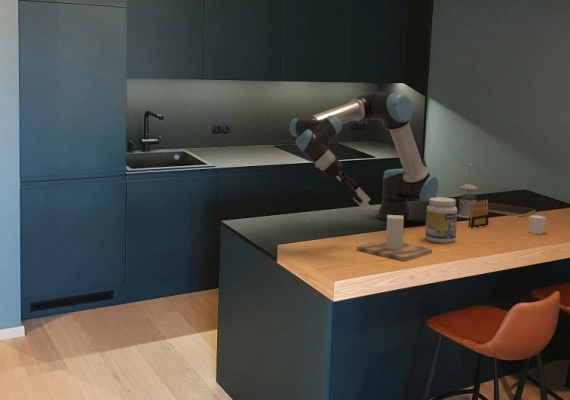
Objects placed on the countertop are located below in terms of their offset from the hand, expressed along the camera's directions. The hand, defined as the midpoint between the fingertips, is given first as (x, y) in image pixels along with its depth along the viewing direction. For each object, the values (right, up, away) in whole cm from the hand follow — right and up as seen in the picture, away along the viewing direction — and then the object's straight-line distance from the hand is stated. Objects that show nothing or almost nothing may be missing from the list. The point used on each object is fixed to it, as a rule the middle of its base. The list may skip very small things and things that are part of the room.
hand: (367, 205), depth 270 cm
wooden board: (+10, -18, +2) cm, 21 cm away
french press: (+56, -6, +70) cm, 89 cm away
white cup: (+76, -12, +36) cm, 85 cm away
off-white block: (+10, -16, +2) cm, 19 cm away
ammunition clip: (+54, -10, +46) cm, 72 cm away
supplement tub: (+32, -15, +21) cm, 41 cm away
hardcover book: (+78, -4, +81) cm, 112 cm away
